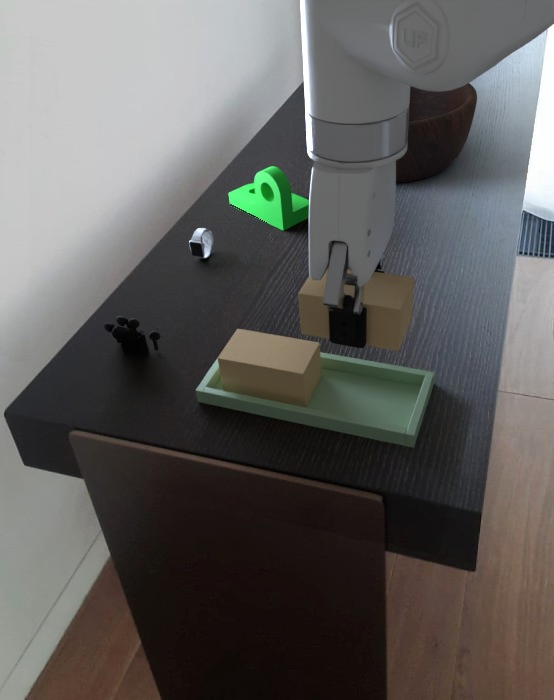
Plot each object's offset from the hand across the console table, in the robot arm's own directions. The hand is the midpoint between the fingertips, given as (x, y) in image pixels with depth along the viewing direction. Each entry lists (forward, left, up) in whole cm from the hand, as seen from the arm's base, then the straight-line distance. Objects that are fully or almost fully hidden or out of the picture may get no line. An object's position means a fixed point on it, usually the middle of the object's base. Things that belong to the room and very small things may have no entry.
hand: (357, 322), depth 64 cm
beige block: (+8, -5, -10) cm, 13 cm away
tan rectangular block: (0, 0, 0) cm, 0 cm away
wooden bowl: (-21, -54, -10) cm, 59 cm away
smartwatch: (+12, -33, -10) cm, 37 cm away
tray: (+4, -2, -10) cm, 11 cm away
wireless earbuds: (+22, -14, -10) cm, 28 cm away
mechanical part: (+1, -43, -10) cm, 44 cm away
